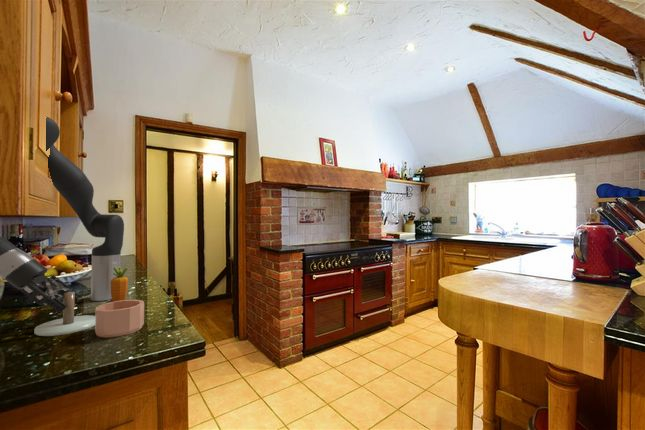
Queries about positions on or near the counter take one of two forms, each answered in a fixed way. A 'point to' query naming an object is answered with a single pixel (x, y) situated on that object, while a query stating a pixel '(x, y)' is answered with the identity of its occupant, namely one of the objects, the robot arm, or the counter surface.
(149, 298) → the counter surface
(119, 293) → the carrot
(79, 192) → the robot arm
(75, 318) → the celadon lid
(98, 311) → the terracotta pot
